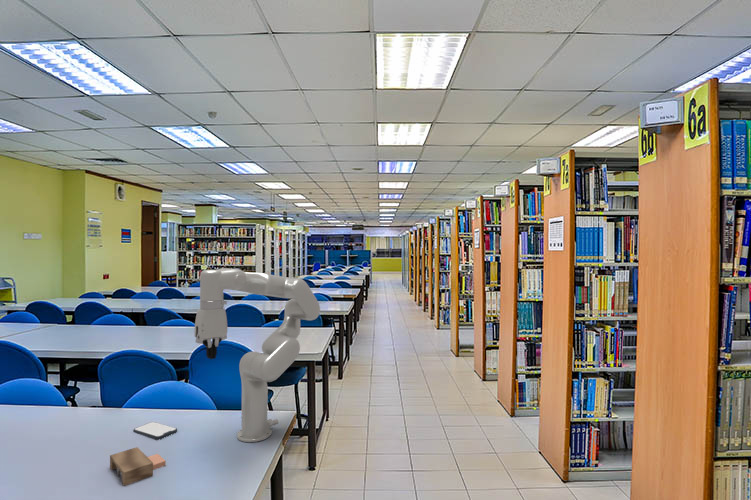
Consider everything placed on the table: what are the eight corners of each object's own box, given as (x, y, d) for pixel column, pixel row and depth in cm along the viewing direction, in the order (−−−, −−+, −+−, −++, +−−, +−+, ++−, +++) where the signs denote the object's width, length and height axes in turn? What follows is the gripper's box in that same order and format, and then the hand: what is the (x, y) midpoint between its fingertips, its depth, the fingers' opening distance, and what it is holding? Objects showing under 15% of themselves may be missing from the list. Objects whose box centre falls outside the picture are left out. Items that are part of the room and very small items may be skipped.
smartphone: (131, 433, 162) (157, 441, 154) (131, 429, 162) (157, 437, 154) (153, 425, 170) (178, 432, 162) (153, 421, 170) (178, 428, 162)
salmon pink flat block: (157, 459, 141) (157, 453, 141) (165, 467, 136) (165, 460, 136) (121, 471, 133) (121, 465, 133) (127, 480, 129) (127, 473, 129)
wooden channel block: (137, 458, 141) (137, 447, 141) (152, 475, 130) (153, 462, 130) (109, 467, 135) (110, 455, 135) (124, 485, 124) (124, 472, 124)
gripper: (227, 302, 153) (226, 352, 153) (185, 306, 142) (185, 360, 142) (237, 304, 148) (236, 356, 148) (194, 308, 137) (194, 364, 137)
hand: (211, 358), depth 145 cm, fingers closed
